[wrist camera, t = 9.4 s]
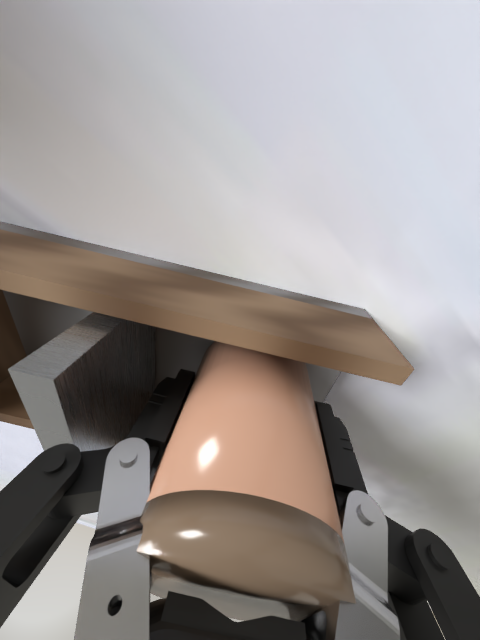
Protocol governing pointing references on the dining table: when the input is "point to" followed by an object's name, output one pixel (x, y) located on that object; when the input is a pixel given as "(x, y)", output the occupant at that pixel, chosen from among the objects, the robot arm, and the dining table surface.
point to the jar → (247, 494)
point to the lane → (174, 314)
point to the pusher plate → (88, 382)
